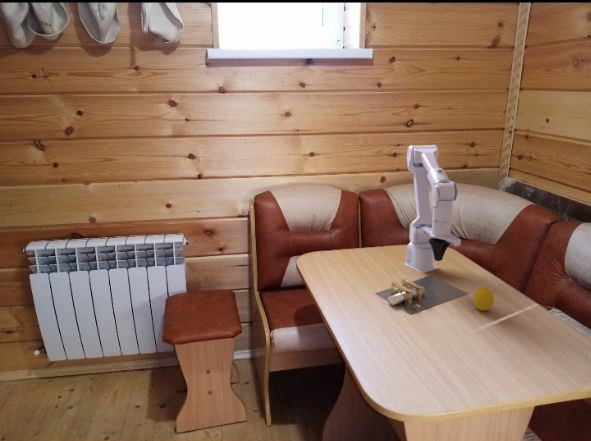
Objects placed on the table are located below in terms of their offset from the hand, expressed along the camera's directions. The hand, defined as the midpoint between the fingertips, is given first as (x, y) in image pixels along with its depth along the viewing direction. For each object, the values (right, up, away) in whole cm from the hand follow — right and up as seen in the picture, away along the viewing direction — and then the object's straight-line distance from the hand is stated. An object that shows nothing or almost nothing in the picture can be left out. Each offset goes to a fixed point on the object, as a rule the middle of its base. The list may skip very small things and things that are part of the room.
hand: (438, 260), depth 153 cm
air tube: (-12, -11, -6) cm, 18 cm away
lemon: (+9, -14, -13) cm, 21 cm away
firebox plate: (-6, -11, -3) cm, 13 cm away
